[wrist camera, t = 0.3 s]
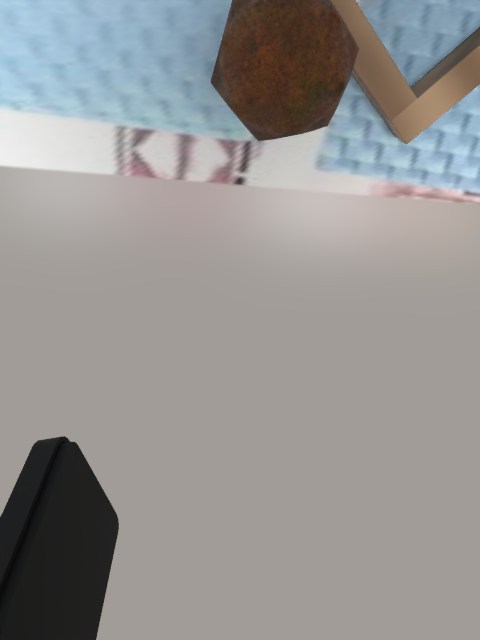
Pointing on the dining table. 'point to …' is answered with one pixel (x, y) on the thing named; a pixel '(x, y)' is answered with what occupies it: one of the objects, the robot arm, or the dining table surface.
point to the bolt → (284, 65)
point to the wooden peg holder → (392, 89)
